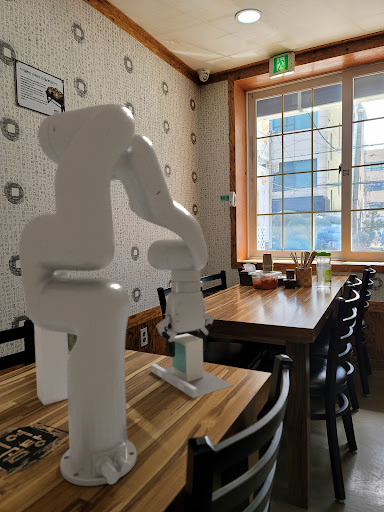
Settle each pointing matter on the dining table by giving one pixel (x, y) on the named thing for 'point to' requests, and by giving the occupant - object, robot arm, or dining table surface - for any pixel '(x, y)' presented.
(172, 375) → the shelf board
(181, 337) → the carton
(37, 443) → the dining table surface
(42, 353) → the milk
